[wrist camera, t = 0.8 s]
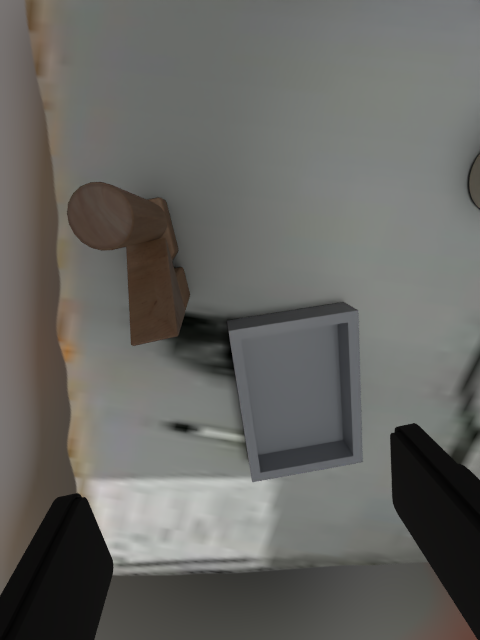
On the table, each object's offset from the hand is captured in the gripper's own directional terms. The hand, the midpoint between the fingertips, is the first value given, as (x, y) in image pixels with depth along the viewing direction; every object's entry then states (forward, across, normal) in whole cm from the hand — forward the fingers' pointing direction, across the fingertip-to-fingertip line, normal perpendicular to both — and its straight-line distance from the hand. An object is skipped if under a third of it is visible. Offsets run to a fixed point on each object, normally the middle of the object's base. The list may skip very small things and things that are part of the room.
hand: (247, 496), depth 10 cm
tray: (+29, -7, +14) cm, 33 cm away
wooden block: (+29, +5, -6) cm, 30 cm away
